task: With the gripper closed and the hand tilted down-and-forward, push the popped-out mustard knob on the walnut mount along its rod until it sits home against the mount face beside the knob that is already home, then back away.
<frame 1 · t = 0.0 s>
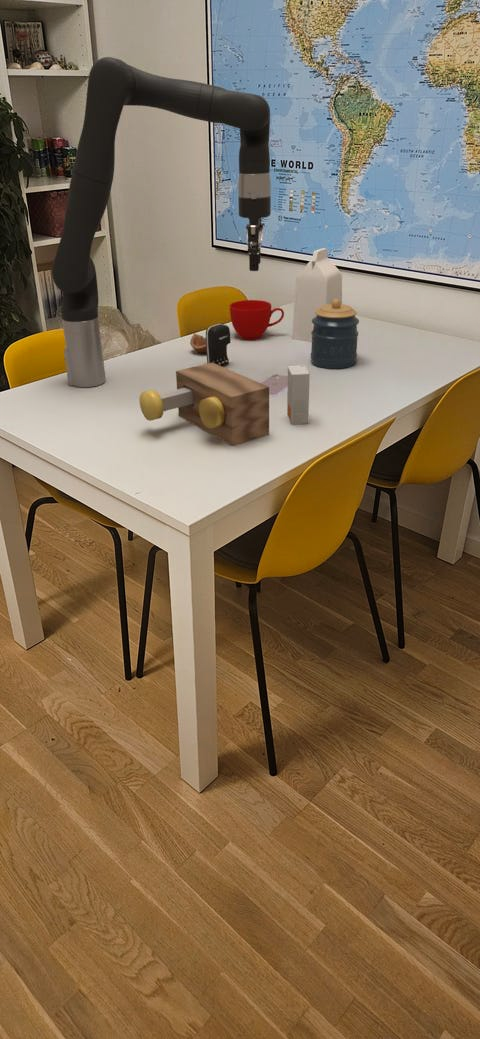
hand: (255, 267, 174), 29 cm above the table, tool pointing down, fingers open, 8 cm apart
milk: (317, 337, 225), on the table
mount: (204, 430, 162), on the table
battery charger: (219, 367, 201), on the table
ceramic cup: (257, 337, 227), on the table
broken brown shell: (203, 353, 213), on the table
skincare box: (297, 420, 166), on the table
knob: (175, 398, 161), point 7 cm above the table, slide at 8.0 cm
mobile phone: (274, 387, 187), on the table
canister: (333, 363, 203), on the table
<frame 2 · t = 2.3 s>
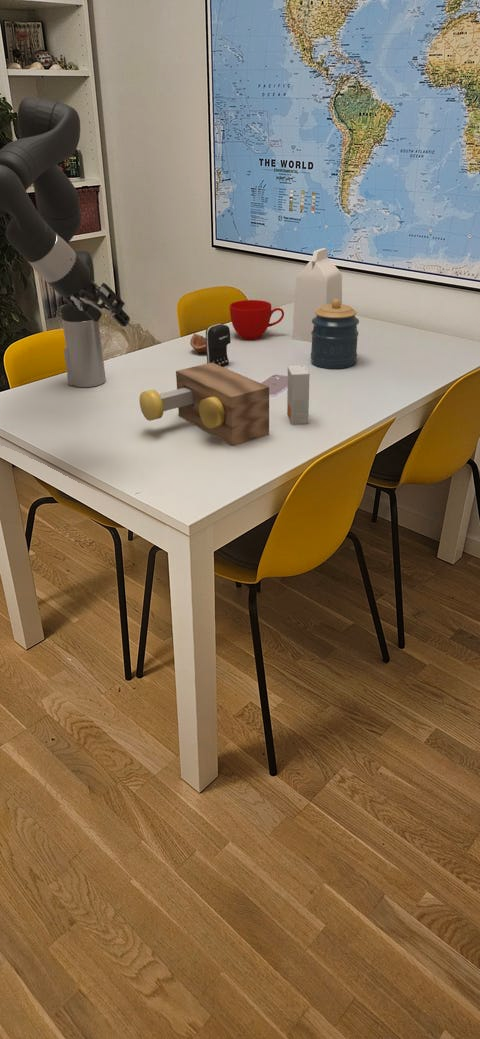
hand: (112, 320, 142), 27 cm above the table, tool tilted 40°, fingers open, 8 cm apart
nothing on the table moved.
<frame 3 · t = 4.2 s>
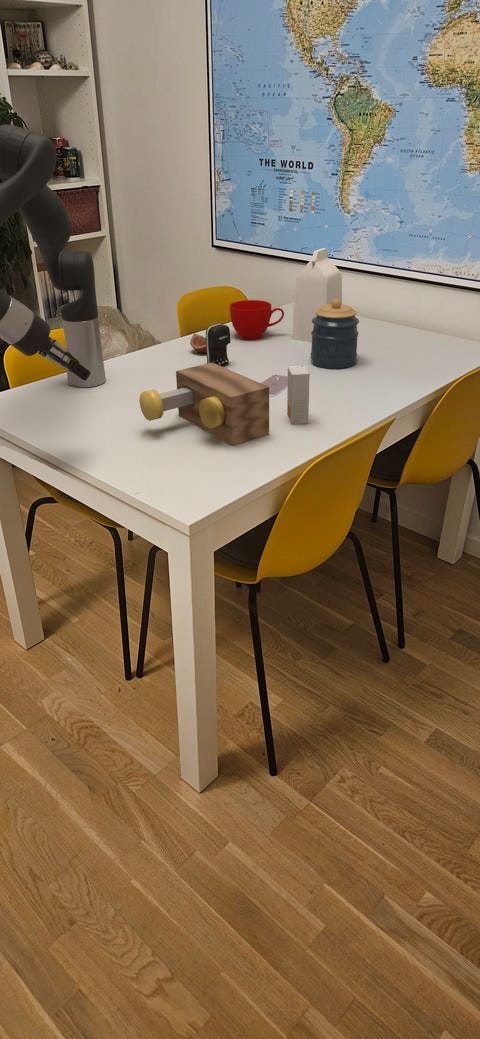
hand: (86, 376, 146), 16 cm above the table, tool tilted 45°, fingers closed
nothing on the table moved.
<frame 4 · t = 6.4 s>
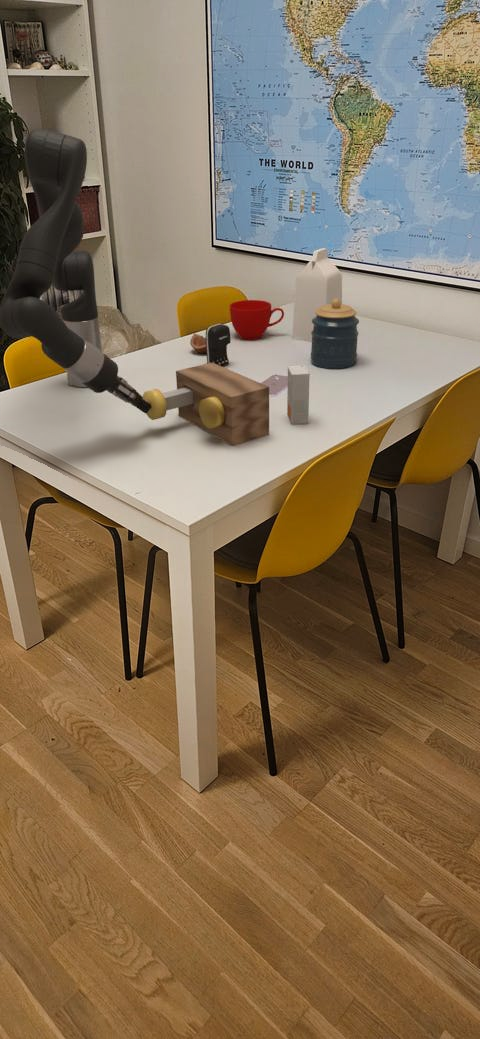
hand: (147, 409, 158), 6 cm above the table, tool tilted 45°, fingers closed
knob: (178, 398, 161), point 7 cm above the table, slide at 7.2 cm, touching gripper
everything else where it was.
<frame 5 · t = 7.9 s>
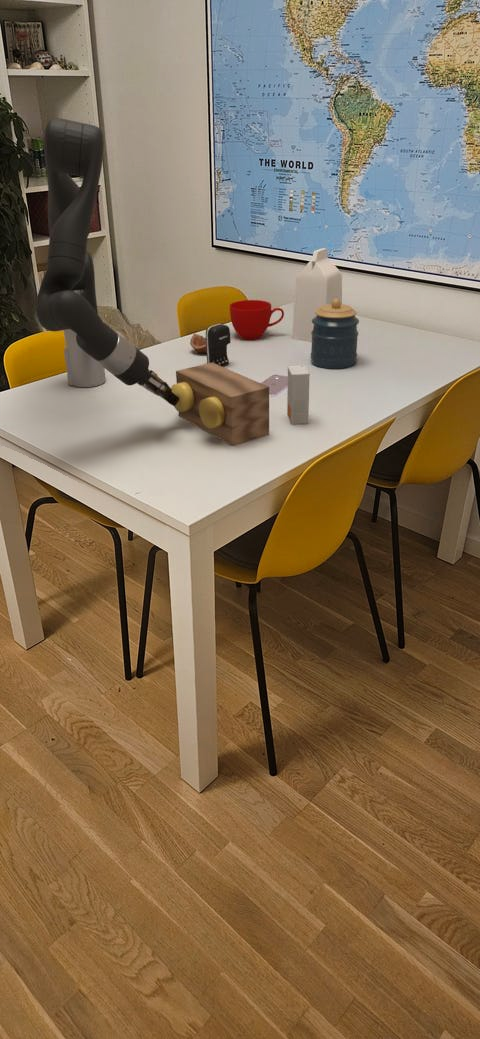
hand: (175, 401, 161), 6 cm above the table, tool tilted 45°, fingers closed
knob: (205, 391, 165), point 7 cm above the table, slide at 0.0 cm, touching gripper
everything else where it was.
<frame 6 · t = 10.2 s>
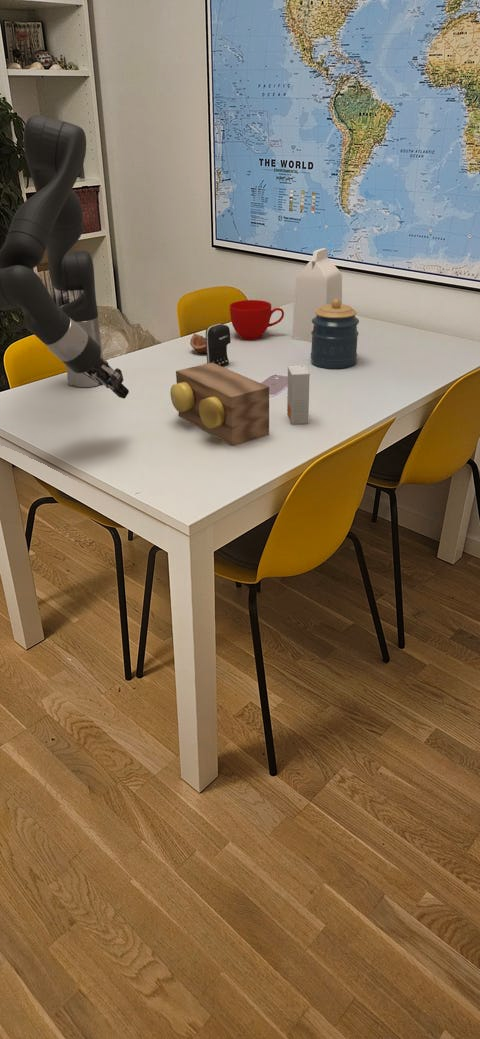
hand: (124, 394, 154), 10 cm above the table, tool tilted 40°, fingers closed
knob: (205, 391, 165), point 7 cm above the table, slide at 0.0 cm
everything else where it was.
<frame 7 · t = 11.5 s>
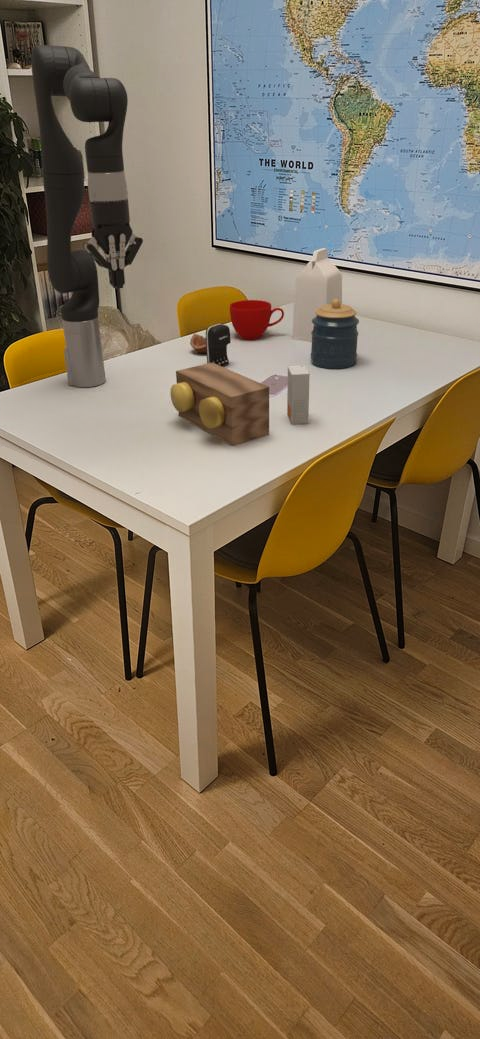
hand: (117, 287, 149), 31 cm above the table, tool pointing down, fingers closed
nothing on the table moved.
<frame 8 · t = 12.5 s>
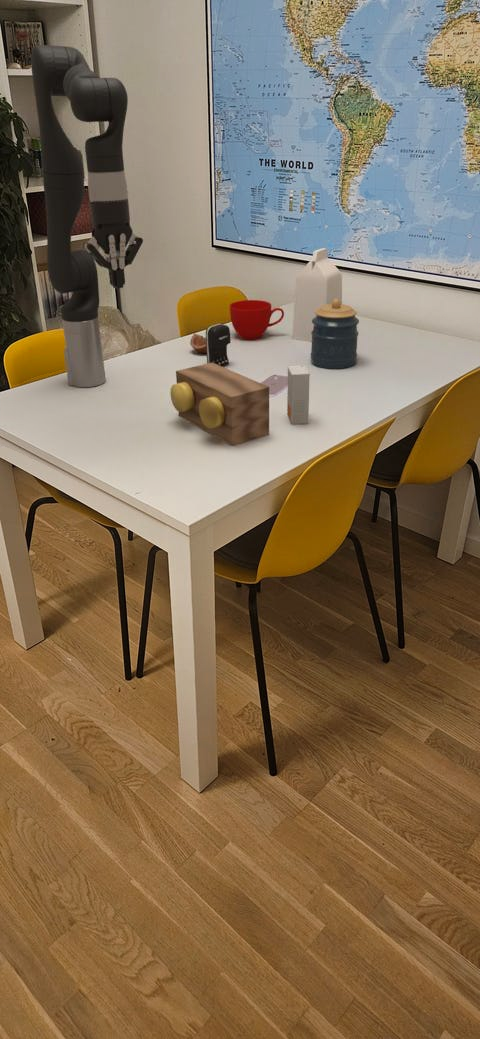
hand: (117, 287, 149), 31 cm above the table, tool pointing down, fingers closed
nothing on the table moved.
at the end: knob slide at 0.0 cm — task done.
